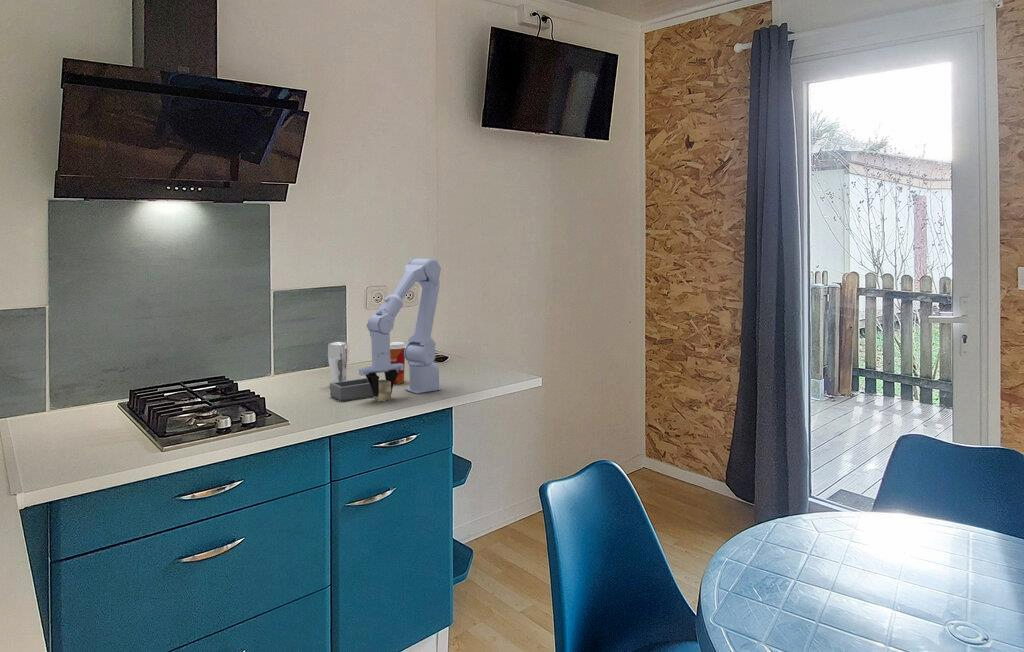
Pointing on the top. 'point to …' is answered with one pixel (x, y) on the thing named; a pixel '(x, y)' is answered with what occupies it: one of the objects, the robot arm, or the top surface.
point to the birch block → (383, 390)
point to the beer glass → (338, 361)
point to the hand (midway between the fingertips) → (382, 394)
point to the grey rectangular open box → (351, 389)
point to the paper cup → (398, 358)
